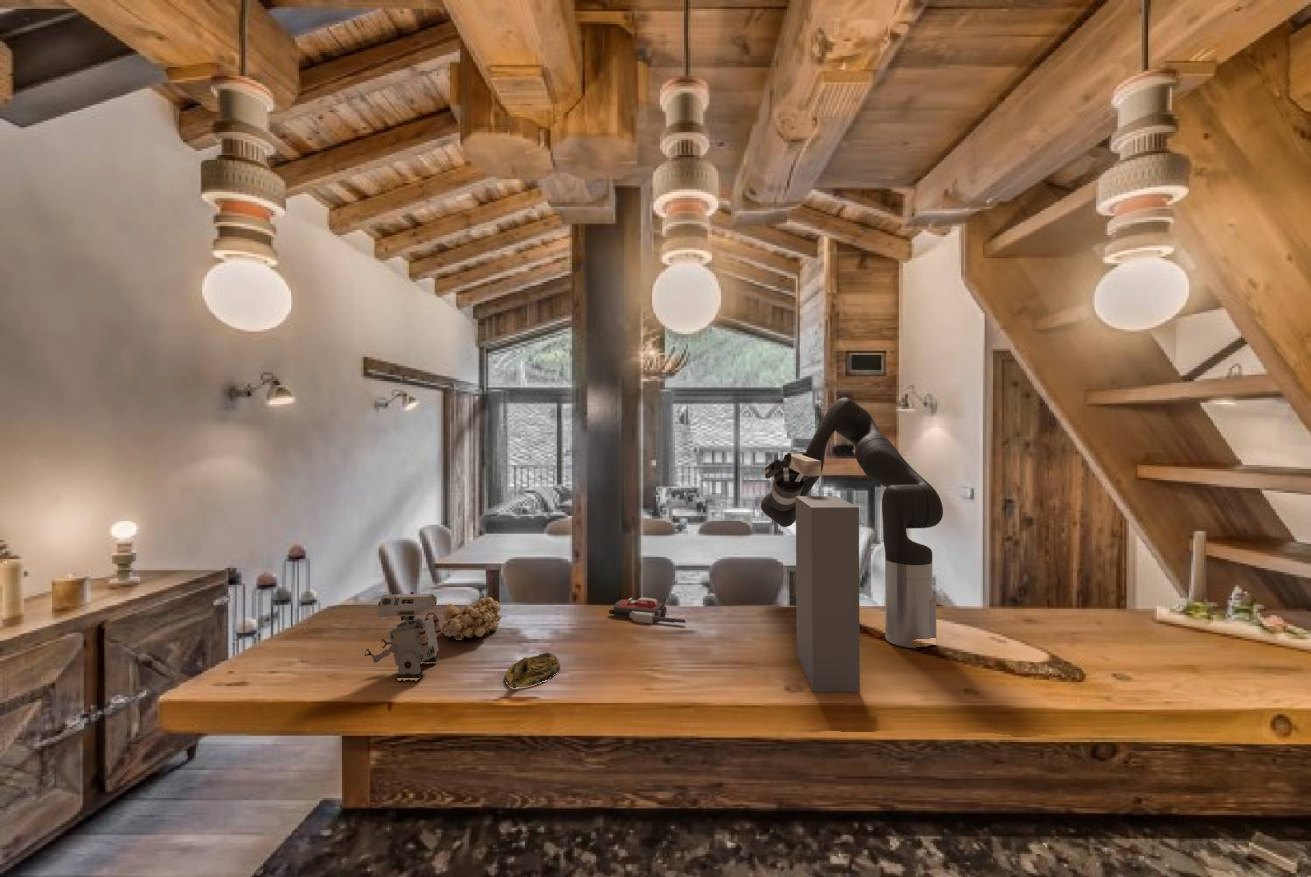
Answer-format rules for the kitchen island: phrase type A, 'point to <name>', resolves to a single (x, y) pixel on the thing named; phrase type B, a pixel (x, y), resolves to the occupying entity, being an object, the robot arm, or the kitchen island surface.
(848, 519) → the charcoal plinth
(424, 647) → the figurine
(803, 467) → the wooden bar
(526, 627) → the kitchen island surface
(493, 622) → the mineral formation
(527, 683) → the olive green oval lump
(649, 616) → the red black elongated piece
